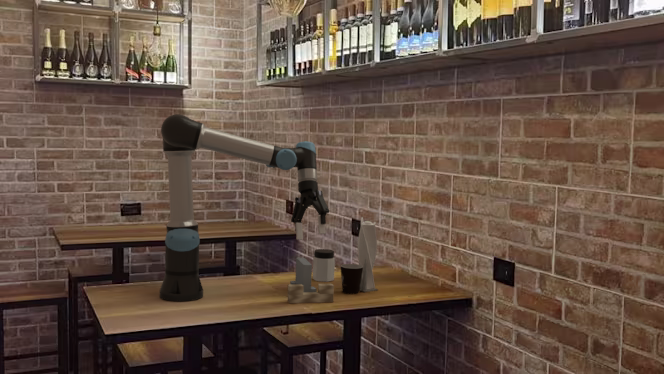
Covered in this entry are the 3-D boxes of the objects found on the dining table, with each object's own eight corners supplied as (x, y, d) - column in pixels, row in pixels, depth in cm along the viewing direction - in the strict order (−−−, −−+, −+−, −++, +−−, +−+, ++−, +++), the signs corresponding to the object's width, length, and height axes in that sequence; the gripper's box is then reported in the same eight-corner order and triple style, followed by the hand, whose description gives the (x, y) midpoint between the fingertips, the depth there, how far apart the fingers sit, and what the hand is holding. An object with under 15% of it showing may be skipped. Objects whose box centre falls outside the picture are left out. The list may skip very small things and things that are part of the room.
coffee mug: (360, 295, 240) (361, 269, 239) (337, 293, 242) (338, 267, 241) (364, 288, 251) (365, 263, 250) (343, 286, 253) (344, 261, 252)
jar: (322, 276, 270) (323, 248, 269) (337, 279, 265) (338, 250, 264) (308, 279, 263) (309, 250, 262) (323, 282, 258) (324, 253, 257)
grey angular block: (290, 288, 247) (291, 257, 246) (307, 288, 249) (308, 257, 248) (297, 297, 234) (298, 265, 233) (316, 297, 235) (317, 264, 234)
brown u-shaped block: (289, 303, 225) (289, 286, 225) (287, 301, 228) (288, 284, 228) (333, 302, 229) (333, 285, 229) (331, 299, 232) (331, 283, 232)
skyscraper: (350, 287, 252) (352, 216, 249) (365, 285, 257) (368, 215, 254) (364, 292, 245) (367, 219, 243) (379, 289, 250) (383, 218, 248)
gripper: (336, 175, 239) (340, 231, 234) (296, 190, 257) (298, 242, 252) (320, 172, 234) (324, 230, 229) (280, 188, 252) (283, 241, 247)
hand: (310, 236), depth 240 cm, fingers open, 13 cm apart
